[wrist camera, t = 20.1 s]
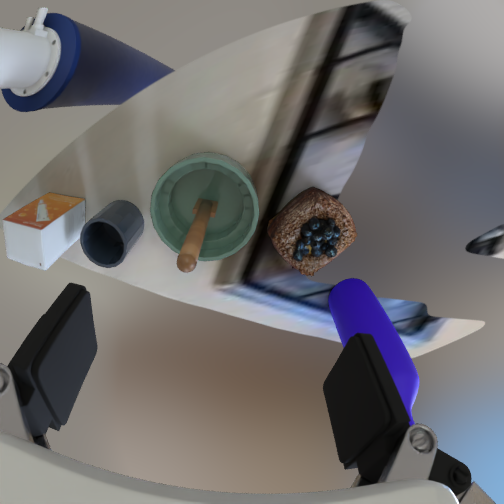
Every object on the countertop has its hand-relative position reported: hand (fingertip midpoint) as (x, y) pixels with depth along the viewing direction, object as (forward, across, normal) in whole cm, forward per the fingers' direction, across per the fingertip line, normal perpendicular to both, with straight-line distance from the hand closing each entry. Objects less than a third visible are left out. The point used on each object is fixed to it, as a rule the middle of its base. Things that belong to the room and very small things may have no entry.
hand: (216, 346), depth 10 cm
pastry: (+34, -13, +7) cm, 38 cm away
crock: (+34, +16, +12) cm, 40 cm away
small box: (+34, +27, +12) cm, 45 cm away
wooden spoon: (+34, +3, +6) cm, 34 cm away
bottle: (+34, -24, +18) cm, 46 cm away
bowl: (+34, +3, +6) cm, 35 cm away
